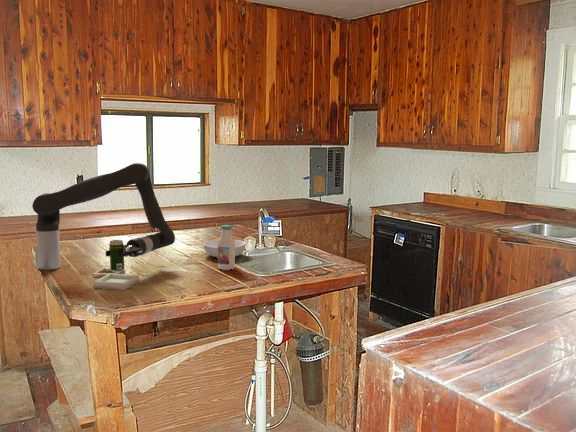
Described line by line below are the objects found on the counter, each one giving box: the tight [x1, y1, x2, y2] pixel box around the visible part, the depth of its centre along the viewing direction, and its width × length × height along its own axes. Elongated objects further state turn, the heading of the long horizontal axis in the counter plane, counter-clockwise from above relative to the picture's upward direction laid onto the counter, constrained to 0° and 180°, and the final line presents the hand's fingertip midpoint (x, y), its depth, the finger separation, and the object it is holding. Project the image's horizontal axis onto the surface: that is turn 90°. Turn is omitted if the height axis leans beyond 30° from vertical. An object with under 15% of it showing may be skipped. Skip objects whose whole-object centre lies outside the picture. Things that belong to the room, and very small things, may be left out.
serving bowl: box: [203, 238, 247, 258], centre depth 273 cm, size 21×21×7 cm
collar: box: [92, 267, 126, 279], centre depth 235 cm, size 10×10×2 cm
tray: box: [93, 272, 140, 291], centre depth 221 cm, size 13×13×2 cm
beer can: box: [108, 239, 125, 273], centre depth 219 cm, size 5×5×12 cm
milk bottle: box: [217, 224, 236, 271], centre depth 248 cm, size 8×8×20 cm
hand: (112, 254), depth 216 cm, fingers closed on beer can, 5 cm apart
